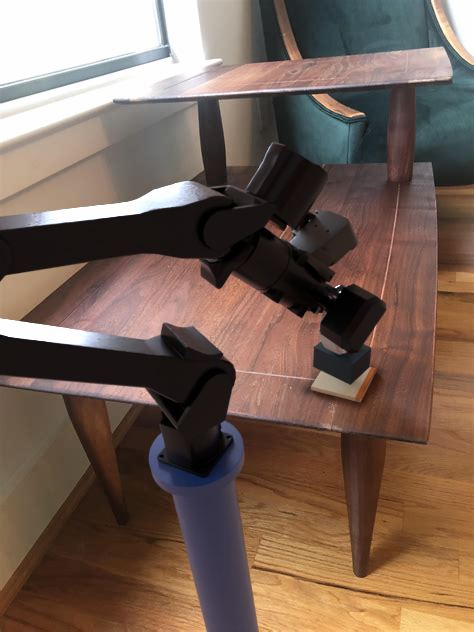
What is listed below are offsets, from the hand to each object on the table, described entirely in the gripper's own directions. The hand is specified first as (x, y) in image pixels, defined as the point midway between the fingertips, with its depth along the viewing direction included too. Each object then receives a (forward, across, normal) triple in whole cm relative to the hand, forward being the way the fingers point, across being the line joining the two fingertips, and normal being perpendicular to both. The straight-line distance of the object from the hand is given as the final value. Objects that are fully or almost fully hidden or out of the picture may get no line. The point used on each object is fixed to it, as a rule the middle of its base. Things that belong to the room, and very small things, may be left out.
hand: (349, 319), depth 66 cm
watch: (+4, 0, +6) cm, 7 cm away
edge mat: (+5, 0, +7) cm, 9 cm away
